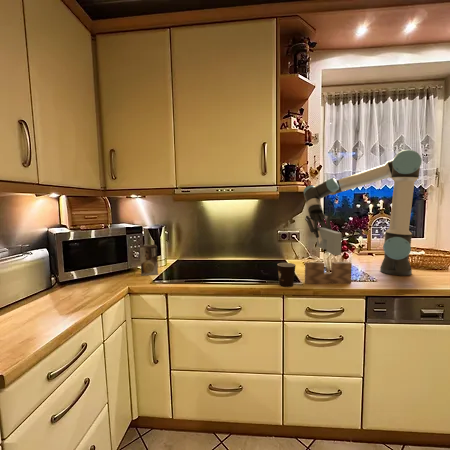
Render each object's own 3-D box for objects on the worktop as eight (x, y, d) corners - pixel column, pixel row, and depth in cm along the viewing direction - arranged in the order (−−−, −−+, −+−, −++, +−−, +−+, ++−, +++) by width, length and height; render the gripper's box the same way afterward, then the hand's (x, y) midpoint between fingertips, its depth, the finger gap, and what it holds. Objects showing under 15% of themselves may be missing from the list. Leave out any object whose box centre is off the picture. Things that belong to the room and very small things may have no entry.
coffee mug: (295, 288, 135) (295, 267, 134) (276, 287, 137) (277, 266, 136) (294, 281, 146) (295, 261, 145) (277, 280, 148) (277, 261, 147)
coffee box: (157, 271, 168) (156, 244, 166) (158, 274, 161) (157, 246, 160) (140, 273, 165) (139, 245, 163) (141, 276, 159) (140, 247, 157)
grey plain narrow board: (316, 246, 155) (317, 227, 154) (322, 245, 155) (322, 227, 154) (334, 255, 131) (335, 233, 130) (340, 255, 131) (341, 233, 130)
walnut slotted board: (348, 281, 145) (348, 261, 144) (351, 283, 142) (351, 263, 141) (304, 282, 144) (305, 262, 143) (306, 283, 141) (307, 263, 140)
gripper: (327, 212, 165) (337, 246, 150) (299, 212, 165) (307, 246, 150) (330, 203, 159) (342, 237, 145) (301, 203, 159) (310, 238, 144)
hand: (324, 242), depth 147 cm, fingers closed on grey plain narrow board, 3 cm apart
